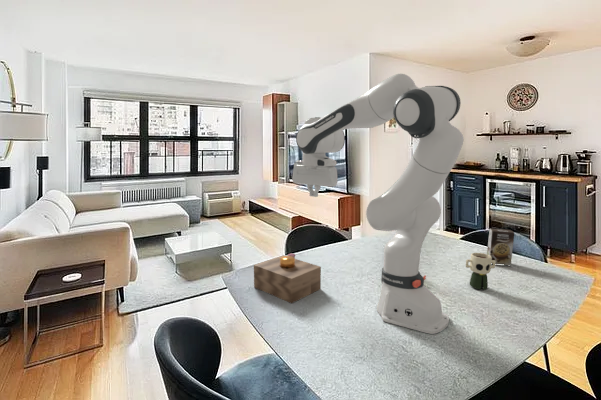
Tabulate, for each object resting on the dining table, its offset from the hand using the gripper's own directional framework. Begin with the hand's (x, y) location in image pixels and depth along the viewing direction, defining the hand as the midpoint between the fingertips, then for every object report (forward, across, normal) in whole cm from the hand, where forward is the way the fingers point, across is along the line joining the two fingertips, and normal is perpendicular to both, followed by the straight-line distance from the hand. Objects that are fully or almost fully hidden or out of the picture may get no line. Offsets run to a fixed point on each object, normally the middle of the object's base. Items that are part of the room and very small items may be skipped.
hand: (313, 196), depth 134 cm
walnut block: (+34, -2, -13) cm, 37 cm away
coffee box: (+35, +52, +74) cm, 96 cm away
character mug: (+35, +52, +38) cm, 73 cm away
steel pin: (+34, -2, -13) cm, 36 cm away
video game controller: (+35, -19, +5) cm, 40 cm away
